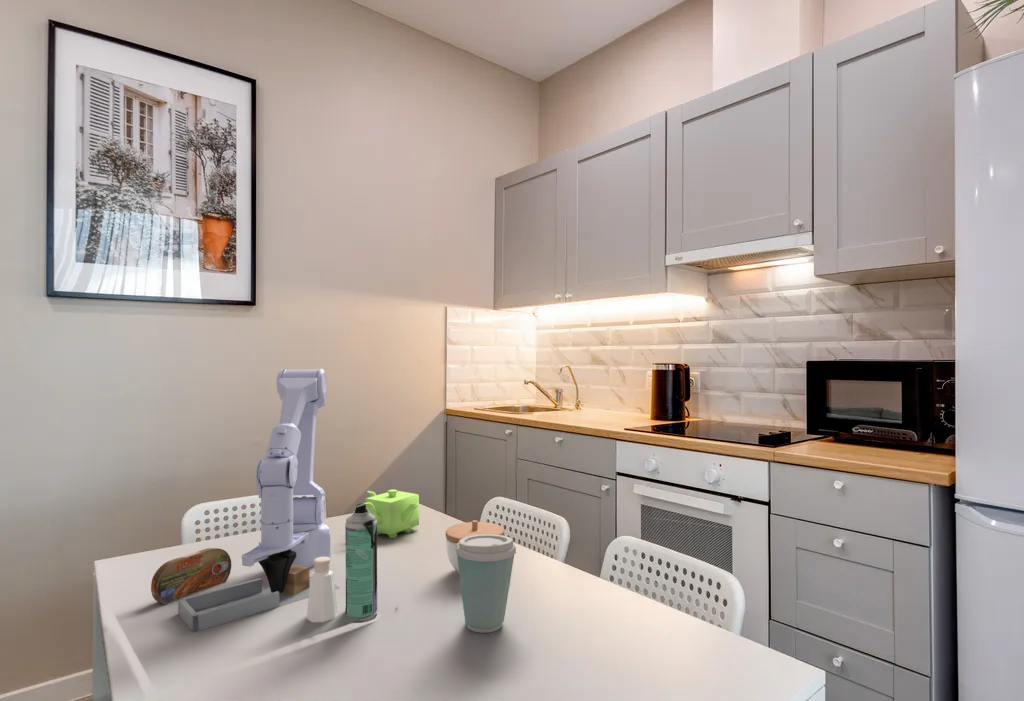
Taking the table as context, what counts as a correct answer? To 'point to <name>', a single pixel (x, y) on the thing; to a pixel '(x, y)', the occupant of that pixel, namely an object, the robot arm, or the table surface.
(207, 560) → the tin
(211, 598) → the trap channel
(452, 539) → the lidded bowl
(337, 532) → the table surface
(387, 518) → the kettle
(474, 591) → the disposable coffee cup
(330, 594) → the salt shaker
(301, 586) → the walnut block
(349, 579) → the spray can
